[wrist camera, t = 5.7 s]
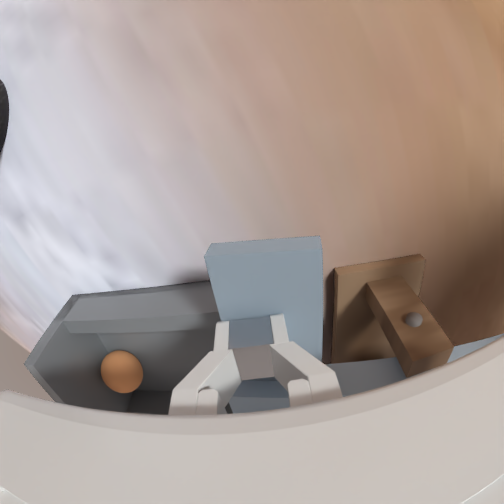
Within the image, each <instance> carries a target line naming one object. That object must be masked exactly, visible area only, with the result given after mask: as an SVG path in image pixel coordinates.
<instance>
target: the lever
mask: <svg viewBox="0 0 504 504" xmlns="http://www.w3.org/2000/svg"><path fill="white" fill-rule="evenodd" d="M204 258H205V262H206V266H207V270H208V274H209V278H210V282H211V285H212V289H213V293H214V297H215V300H216V304H217V308H218V311H219V315H220V319H221V322H222V321H230V320H240V319H249V318H258V317H265V316H270V315H275V314H281V313H283V314H284V319H285V324H286V329H287V333H288V338H289V342H291V341H293V342H295V343H296V344H297V345H299V346H300V347H301V348H303V349H304V350H306V351H307V352H308V353H310V354H311V355H312V356H314V357H315V358H316V359H318V360H319V361H321V362H322V340H323V259H322V245H321V239H320V236H310V237H295V238H280V239H266V240H252V241H238V242H225V243H212V244H211V245H210V247H209V249H208V250H207V252H206V254H205V256H204ZM271 328H272V327H271ZM502 336H504V334H500V335H497V336H494V337H490V338H486V339H483V340H479V341H475V342H471V343H467V344H463V345H458V346H454V349H453V351H452V353H451V355H450V357H449V359H448V362H447V363H449V362H451V361H454V360H456V359H458V358H460V357H462V356H465V355H467V354H469V353H471V352H473V351H475V350H477V349H479V348H481V347H483V346H485V345H487V344H489V343H491V342H493V341H495V340H496V339H498V338H500V337H502ZM325 365H326V366H328V367H329V368H330V369H332V370H333V371H335V374H336V377H337V380H338V383H339V386H340V389H341V392H342V396H343V397H345V396H349V395H353V394H357V393H361V392H365V391H368V390H372V389H376V388H379V387H382V386H386V385H389V384H392V383H395V382H398V381H401V380H404V379H407V378H406V376H405V374H404V372H403V370H402V368H401V366H400V364H399V362H398V360H397V358H396V357H392V358H385V359H377V360H368V361H358V362H348V363H335V364H325ZM431 370H432V369H431ZM428 371H429V370H428ZM426 372H427V371H426ZM423 373H424V372H423ZM420 374H421V373H420ZM417 375H419V374H417ZM414 376H416V375H414ZM411 377H413V376H411ZM408 378H410V377H408ZM229 404H230V407H231V409H232V411H233V414H234V413H247V412H257V411H266V410H274V409H281V408H288V407H290V406H289V395H288V391H287V390H286V389H285V388H284V387H283V386H282V385H281V384H280V383H279V382H278V381H277V380H276V378H275V377H267V378H257V379H250V380H242V381H241V383H240V385H239V387H238V388H237V390H236V391H235V393H234V394H233V396H232V397H231V399H230V400H229Z"/></svg>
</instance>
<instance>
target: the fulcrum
mask: <svg viewBox="0 0 504 504" xmlns="http://www.w3.org/2000/svg"><path fill="white" fill-rule="evenodd" d="M425 262H426V259H424V258H423V257H422V256H421V255H420V254H417V255H411V256H406V257H400V258H394V259H388V260H382V261H376V262H370V263H364V264H357V265H351V266H345V267H338V268H335V277H334V316H333V336H332V352H331V364H335V363H348V362H358V361H368V360H377V359H385V358H392V357H396V358H397V360H398V362H399V364H400V366H401V368H402V370H403V372H404V374H405V376H406V378H408V377H411V376H414V375H417V374H420V373H423V372H426V371H428V370H431V369H434V368H437V367H439V366H442V365H444V364H447V362H448V359H449V357H450V355H451V353H452V351H453V349H454V346H453V344H452V343H451V342H450V340H449V339H448V337H447V336H446V334H445V333H444V331H443V330H442V329H441V327H440V326H439V324H438V323H437V322H436V320H435V319H434V317H433V316H432V315H431V313H430V312H429V311H428V309H427V308H426V307H425V305H424V304H423V303H422V301H421V300H420V299H419V293H420V289H421V284H422V279H423V273H424V268H425Z"/></svg>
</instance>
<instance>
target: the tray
mask: <svg viewBox="0 0 504 504" xmlns="http://www.w3.org/2000/svg"><path fill="white" fill-rule="evenodd" d="M217 322H221V319H220V315H219V311H218V308H217V304H216V300H215V297H214V293H213V289H212V285H211V282H210V281H202V282H194V283H185V284H177V285H168V286H159V287H150V288H140V289H131V290H121V291H111V292H100V293H90V294H79V295H72V296H71V297H70V299H69V300H68V301H67V303H66V304H65V305H64V307H63V308H62V309H61V311H60V312H59V313H58V315H57V316H56V317H55V319H54V320H53V321H52V323H51V324H50V326H49V327H48V328H47V330H46V331H45V333H44V334H43V336H42V337H41V338H40V340H39V341H38V343H37V344H36V346H35V347H34V349H33V350H32V352H31V353H30V355H29V357H28V358H27V360H26V361H25V363H24V365H25V366H26V367H27V369H28V370H29V371H30V373H31V374H32V375H33V377H34V378H35V379H36V380H37V381H38V383H39V384H40V385H41V386H42V387H43V389H44V390H45V391H46V392H47V393H48V394H49V395H50V396H51V398H52V399H53V400H54V401H55V402H58V403H63V404H68V405H73V406H79V407H85V408H91V409H98V410H106V411H115V412H124V413H136V414H153V415H168V413H169V407H170V402H171V397H172V392H173V389H174V388H175V387H176V386H177V385H178V384H179V383H180V382H181V381H182V380H183V379H184V378H185V377H186V376H187V375H188V374H189V373H190V372H191V370H192V369H193V368H194V367H195V366H196V365H197V364H198V363H199V362H200V361H201V360H202V359H203V358H204V357H205V356H206V355H207V354H208V353H209V352H210V351H213V349H214V338H215V328H216V323H217ZM117 350H122V351H127V352H129V353H131V354H133V355H134V356H135V357H136V358H137V359H138V360H139V362H140V364H141V366H142V369H143V379H142V382H141V384H140V385H139V387H138V388H137V389H135V390H134V391H132V392H129V393H119V392H116V391H114V390H112V389H110V388H109V387H108V386H107V385H106V384H105V382H104V381H103V379H102V376H101V363H102V361H103V359H104V358H105V356H106V355H108V354H109V353H111V352H113V351H117ZM225 410H226V412H227V414H233V411H232V409H231V407H230V404H229V402H228V404H227V405H226V407H225Z"/></svg>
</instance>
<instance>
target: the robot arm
mask: <svg viewBox="0 0 504 504" xmlns="http://www.w3.org/2000/svg"><path fill="white" fill-rule="evenodd" d="M271 327H272V328H271ZM267 377H275V378H276V380H277V381H278V382H279V383H280V384H281V385H282V386H283V387H284V388H285V389H286V390H287V391H288V395H289V406H290V407H288V408H281V409H274V410H266V411H257V412H247V413H234V414H227V412H226V410H225V407H226V405H227V404H228V402H229V400H230V399H231V397H232V396H233V394H234V393H235V391H236V390H237V388H238V387H239V385H240V383H241V381H242V380H250V379H257V378H267ZM0 504H504V336H502V337H500V338H498V339H496V340H495V341H493V342H491V343H489V344H487V345H485V346H483V347H481V348H479V349H477V350H475V351H473V352H471V353H469V354H467V355H465V356H462V357H460V358H458V359H456V360H454V361H451V362H449V363H447V364H444V365H442V366H439V367H437V368H434V369H432V370H429V371H427V372H424V373H421V374H419V375H416V376H413V377H410V378H407V379H404V380H401V381H398V382H395V383H392V384H389V385H386V386H382V387H379V388H376V389H372V390H368V391H365V392H361V393H357V394H353V395H349V396H345V397H343V396H342V392H341V389H340V386H339V383H338V380H337V377H336V374H335V371H333V370H332V369H330V368H329V367H328V366H326V365H325V364H323V363H322V362H321V361H319V360H318V359H316V358H315V357H314V356H312V355H311V354H310V353H308V352H307V351H306V350H304V349H303V348H301V347H300V346H299V345H297V344H296V343H295V342H293V341H291V342H289V338H288V333H287V329H286V324H285V319H284V314H283V313H281V314H275V315H270V316H265V317H258V318H249V319H240V320H230V321H222V322H217V323H216V328H215V338H214V349H213V351H210V352H209V353H208V354H207V355H206V356H205V357H204V358H203V359H202V360H201V361H200V362H199V363H198V364H197V365H196V366H195V367H194V368H193V369H192V370H191V372H190V373H189V374H188V375H187V376H186V377H185V378H184V379H183V380H182V381H181V382H180V383H179V384H178V385H177V386H176V387H175V388H174V389H173V392H172V397H171V402H170V407H169V413H168V415H153V414H136V413H124V412H115V411H106V410H98V409H91V408H85V407H79V406H73V405H68V404H63V403H58V402H53V401H49V400H44V399H40V398H36V397H32V396H28V395H25V394H21V393H18V392H15V391H12V390H3V391H2V392H0Z"/></svg>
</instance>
